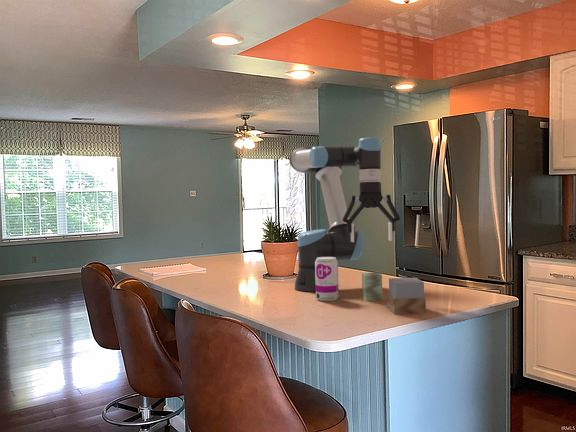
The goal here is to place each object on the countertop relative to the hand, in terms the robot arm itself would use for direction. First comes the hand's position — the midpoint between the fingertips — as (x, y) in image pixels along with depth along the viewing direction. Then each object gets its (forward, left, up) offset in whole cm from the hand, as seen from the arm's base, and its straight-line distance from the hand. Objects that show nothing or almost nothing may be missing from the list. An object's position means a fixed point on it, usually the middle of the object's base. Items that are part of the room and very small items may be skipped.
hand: (371, 241), depth 185 cm
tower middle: (+7, -19, -16) cm, 26 cm away
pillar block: (0, 0, -21) cm, 21 cm away
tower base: (+7, -19, -21) cm, 29 cm away
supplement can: (-16, +2, -21) cm, 26 cm away
